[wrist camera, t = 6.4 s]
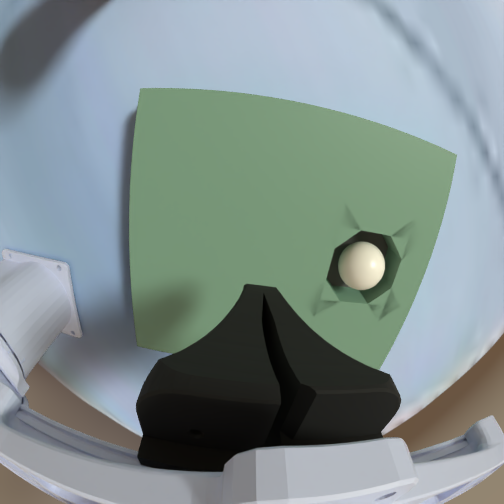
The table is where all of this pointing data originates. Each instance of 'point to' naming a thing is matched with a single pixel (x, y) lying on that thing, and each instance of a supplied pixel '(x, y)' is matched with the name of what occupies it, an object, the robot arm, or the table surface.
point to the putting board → (275, 215)
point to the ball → (361, 265)
